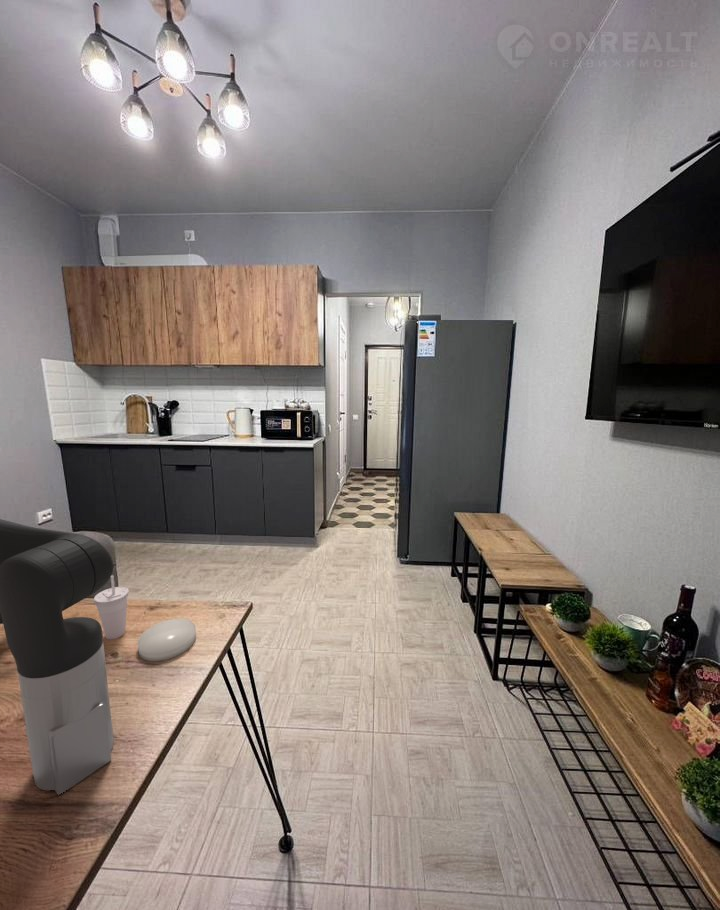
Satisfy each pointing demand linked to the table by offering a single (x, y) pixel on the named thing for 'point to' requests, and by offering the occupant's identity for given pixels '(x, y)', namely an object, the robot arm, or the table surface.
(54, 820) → the table surface
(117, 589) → the smoothie
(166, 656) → the trivet
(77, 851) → the table surface
